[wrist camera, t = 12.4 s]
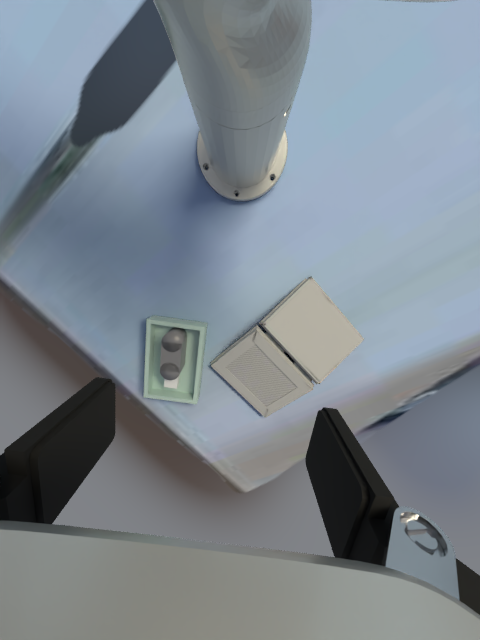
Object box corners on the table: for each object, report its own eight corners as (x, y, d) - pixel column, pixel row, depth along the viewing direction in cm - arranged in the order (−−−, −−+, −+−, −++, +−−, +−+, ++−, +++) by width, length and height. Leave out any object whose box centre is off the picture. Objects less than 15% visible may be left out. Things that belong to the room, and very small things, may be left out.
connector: (169, 325, 38) (162, 331, 34) (188, 328, 38) (182, 334, 34) (165, 379, 40) (158, 390, 37) (183, 381, 41) (177, 392, 37)
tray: (152, 315, 38) (146, 319, 36) (207, 322, 38) (204, 327, 36) (149, 389, 42) (143, 397, 39) (199, 395, 42) (196, 404, 39)
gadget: (308, 274, 37) (314, 276, 33) (361, 337, 39) (373, 345, 36) (210, 361, 41) (207, 370, 37) (264, 413, 44) (266, 426, 40)
